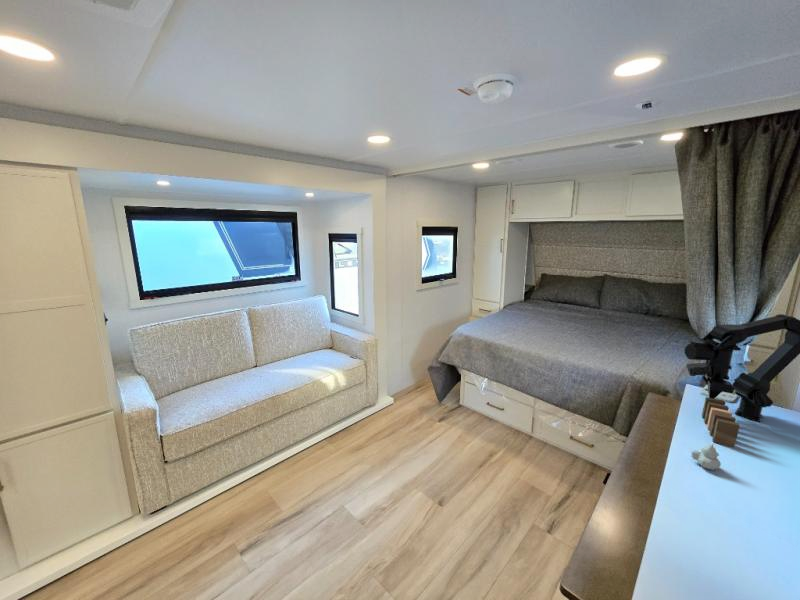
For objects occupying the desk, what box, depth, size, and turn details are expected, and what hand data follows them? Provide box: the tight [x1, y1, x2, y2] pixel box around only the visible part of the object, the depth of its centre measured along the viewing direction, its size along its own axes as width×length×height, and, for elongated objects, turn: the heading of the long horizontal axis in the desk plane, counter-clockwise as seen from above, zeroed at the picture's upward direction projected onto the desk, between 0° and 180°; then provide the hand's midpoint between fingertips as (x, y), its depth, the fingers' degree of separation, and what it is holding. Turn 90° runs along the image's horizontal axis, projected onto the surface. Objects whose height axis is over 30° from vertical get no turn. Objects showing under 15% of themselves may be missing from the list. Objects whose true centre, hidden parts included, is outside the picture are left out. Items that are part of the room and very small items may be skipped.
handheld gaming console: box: [699, 384, 739, 403], centre depth 138 cm, size 10×2×15 cm
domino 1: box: [701, 396, 726, 419], centre depth 119 cm, size 2×5×8 cm, turn 57°
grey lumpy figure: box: [690, 443, 721, 471], centre depth 96 cm, size 5×7×8 cm
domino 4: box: [708, 413, 737, 437], centre depth 109 cm, size 2×5×8 cm, turn 57°
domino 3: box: [706, 407, 733, 431], centre depth 112 cm, size 2×5×8 cm, turn 57°
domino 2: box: [703, 402, 730, 425], centre depth 116 cm, size 2×5×8 cm, turn 57°
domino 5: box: [711, 419, 741, 448], centre depth 106 cm, size 2×5×8 cm, turn 57°
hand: (711, 398), depth 122 cm, fingers closed
